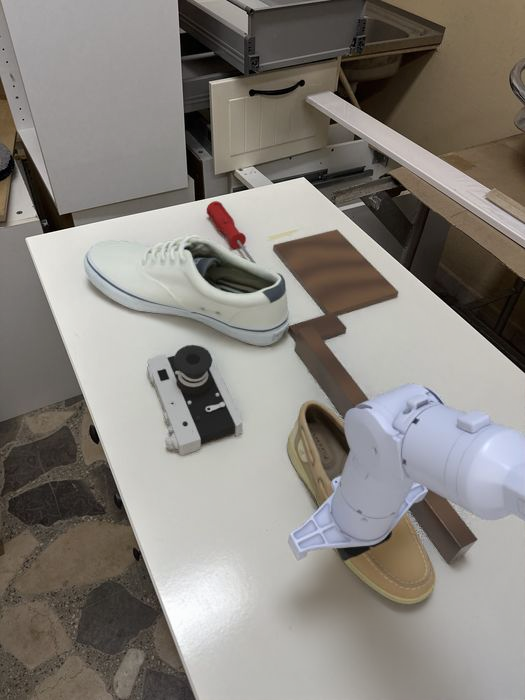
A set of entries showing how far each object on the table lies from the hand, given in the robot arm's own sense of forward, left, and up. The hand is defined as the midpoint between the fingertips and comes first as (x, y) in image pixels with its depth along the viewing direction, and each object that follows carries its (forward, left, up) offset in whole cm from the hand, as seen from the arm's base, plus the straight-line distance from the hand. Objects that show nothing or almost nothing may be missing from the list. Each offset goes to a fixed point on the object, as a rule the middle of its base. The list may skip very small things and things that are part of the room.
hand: (343, 550), depth 56 cm
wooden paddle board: (+24, -23, -3) cm, 34 cm away
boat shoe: (+5, -4, -4) cm, 7 cm away
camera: (+27, +7, -4) cm, 29 cm away
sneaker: (+47, 0, -4) cm, 47 cm away
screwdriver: (+56, -14, -4) cm, 58 cm away
